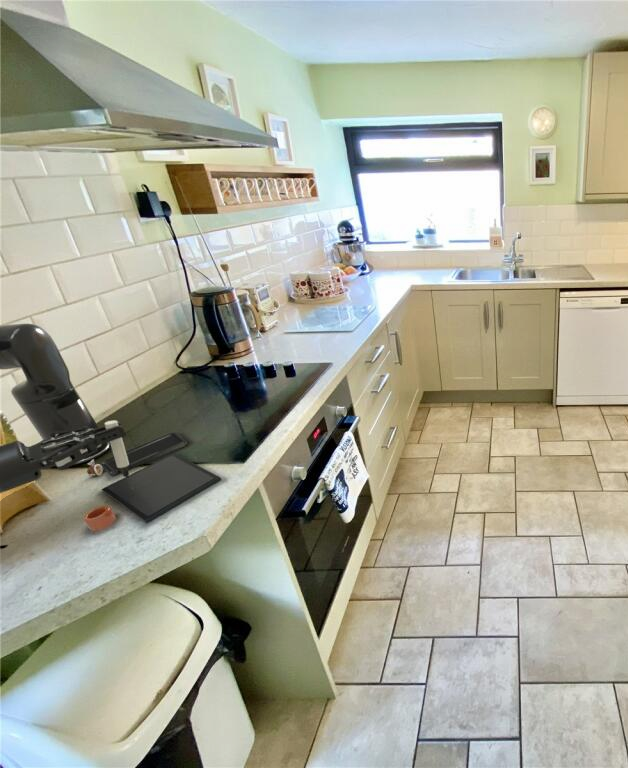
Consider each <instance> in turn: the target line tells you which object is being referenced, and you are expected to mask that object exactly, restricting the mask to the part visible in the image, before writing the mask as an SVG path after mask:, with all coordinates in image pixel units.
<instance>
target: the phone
mask: <svg viewBox="0 0 628 768" xmlns="http://www.w3.org/2000/svg"><path fill="white" fill-rule="evenodd" d="M187 445H188V442H187V440H186V438H184V436H182V435H180V434H179V433H177V431H176V432H175V431H174V432H171V433H168V434H166V435H163V436H161V437H157V438H156V439H154V440H151V441H149V442H145V443H143V444H142V445H139V446H137V447H134V448H131V449H129V450H127V451H126V454H127V458H128V461H129V465H128V466H127V469H128V472H130V471H131V470H133V469H136V468H138V467H140V466H142V465H144V464H147V463H149V462H152V461H154V460H156V459H158V458H160V457H163V456H165V455H167V454H169V453H171V452H174V451H176V450H178V449H182V448H183V447H186V446H187ZM101 466H102V467H103V469H104V470H105V471H106V472H107V473H108V474H109V475H110V476H111V477H117V476H120V475H123V474H122V471H121V468H118V467H117V465H116V461H115V458H114V456H113V457H111V458H108V459H106V460H104V461H102V462H101Z"/></svg>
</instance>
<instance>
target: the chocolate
mask: <svg viewBox="0 0 628 768" xmlns="http://www.w3.org/2000/svg"><path fill="white" fill-rule="evenodd" d="M87 465H89V467H87V469H86V472H87V475H88V476H89V477H100V476H102V475H103V473H104V467H103V465H102V464H100V463H95V459H93V460H91V461H89V463H87Z"/></svg>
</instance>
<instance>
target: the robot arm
mask: <svg viewBox="0 0 628 768" xmlns="http://www.w3.org/2000/svg"><path fill="white" fill-rule="evenodd" d="M14 369H15V370H16V369H21V371H22V372H23V375H24V376H25V380H24V381H21V382H19V383H18V384H16V385H14V386H13V387H12V388H11V390H10V393H11V395H12V397H13V399H14V400H15V401H16V403H17V404H18V406H19V407H20V408H21V410H22V411H23V413H24V414H25V415H26V417H27V418H28V420H29V421H30V423H31V424H32V426H33V428H34V429H35V430H36V432H37V433H38V434H39V436H40V437H41V439H42V440H40V441H39V442H37V443H35V444H32V445H31V446H27V445H25V444H24V443H23V441H20V440H14V441H11V442H8V443H5V444H1V445H0V494H2V493H5V492H8V491H11V490H13V489H16V488H19V487H21V486H22V487H23V486H25V485H27V484H30V483H33V482H35V481H39V480H40V479H41V477H42V470H45V469H50V468H52V467H57V469H58V470H59V471H63V470H67V469H68V468H71V467H75V466H79V465H82V464H85V463H89V462H91V461H92V460H93V459H94V460H95V459H97V458H99V457H101V456H102V455H104V454H105V453H106V452H108V451H109V450H110V448H111V444H110V441H112V440H115V439H118V438H121V437H122V438H124V437H125V436H126V435H127V434H126V431H125V430H124V427H123V425H122V423H121V422H120V421H118V420H116V421H117V422H118V426H115V427H113V428H109V429H106V427H105V424H104V425H101V426H99V425H98V423H97V422H96V421H95V418H94V417H93V416H92V414H91V412H90V410H89V408H88V407H87V405H86V404H85V402H84V401H83V399H82V397H81V396H80V394H79V392H78V390H77V388H75V385H74V384H73V382H72V380H71V374H70V370H69V367H68V366H67V363H66V362H65V360H64V357H63V356H62V354H61V352H60V350H59V348H58V345H56V343H55V341H54V339H53V337H51V334H49V333H48V332H47V331H46V329H44V328H43V327H41V326H39V325H37V324H34V323H15V324H4V325H3V324H2V325H0V370H14Z"/></svg>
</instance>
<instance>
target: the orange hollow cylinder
mask: <svg viewBox="0 0 628 768" xmlns="http://www.w3.org/2000/svg"><path fill="white" fill-rule="evenodd" d="M82 521H83V522H84V523H85V525H86V526H87V528H88V529H89V530H90V531H91V532H98V531H99V532H100V531H102V530H104V529H106V528H109V527H110V526H111V525H113V524H114V523H115V522H116V521H117V516H116V515H115V513H114V512H113V511H112V509H111V508H110V506H108V505H101V506H98V507H95V508H93V509H91V510H89V511H88V512H86V513H85V514H84V515H83V517H82Z"/></svg>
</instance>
